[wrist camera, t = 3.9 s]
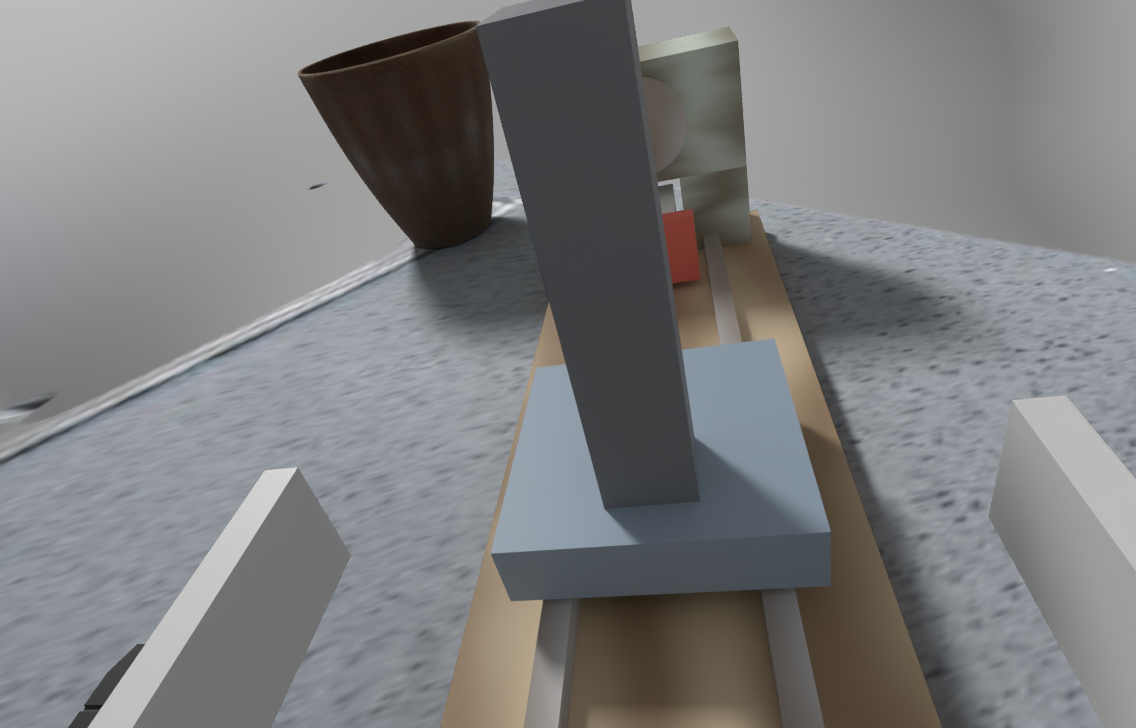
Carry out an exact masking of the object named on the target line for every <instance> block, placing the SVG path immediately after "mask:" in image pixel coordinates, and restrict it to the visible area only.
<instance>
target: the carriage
mask: <svg viewBox="0 0 1136 728" xmlns="http://www.w3.org/2000/svg"><path fill="white" fill-rule="evenodd" d="M476 30H477V33H478V37H479V41H480V45H481V48H482V52H483V56H484V60H485V63H486V67H487V71H488V75H489V78H490V82H491V86H492V90H493V93H494V97H495V101H496V104H497V108H498V112H499V115H500V120H501V123H502V127H503V131H504V135H505V138H506V142H507V146H508V149H509V153H510V157H511V161H512V165H513V168H514V172H515V176H516V180H517V183H518V187H519V191H520V195H521V198H522V202H523V206H524V210H525V213H526V217H527V221H528V225H529V228H530V232H531V236H532V240H533V243H534V247H535V251H536V255H537V258H538V262H539V266H540V270H541V273H542V277H543V281H544V285H545V288H546V292H547V296H548V300H549V303H550V307H551V311H552V315H553V318H554V322H555V326H556V330H557V333H558V337H559V341H560V345H561V348H562V352H563V356H564V360H565V363H566V364H563V365H555V366H547V367H538V368H536V371H535V375H534V379H533V383H532V387H531V391H530V395H529V399H528V403H527V407H526V411H525V415H524V419H523V423H522V427H521V432H520V436H519V440H518V444H517V448H516V452H515V456H514V460H513V464H512V468H511V472H510V476H509V480H508V484H507V489H506V493H505V497H504V501H503V505H502V509H501V513H500V517H499V521H498V525H497V529H496V533H495V537H494V541H493V545H492V550H491V556H492V558H493V561H494V563H495V565H496V568H497V570H498V572H499V575H500V577H501V579H502V582H503V584H504V586H505V589H506V591H507V593H508V596H509V598H510V601H528V600H549V599H570V598H591V597H612V596H633V595H654V594H675V593H696V592H718V591H739V590H760V589H781V588H802V587H823V586H831V530H830V527H829V523H828V520H827V516H826V513H825V510H824V506H823V503H822V499H821V496H820V492H819V489H818V486H817V482H816V479H815V475H814V472H813V468H812V465H811V462H810V458H809V455H808V451H807V448H806V444H805V441H804V438H803V434H802V431H801V427H800V424H799V420H798V417H797V414H796V410H795V407H794V403H793V400H792V396H791V393H790V390H789V386H788V383H787V379H786V376H785V372H784V369H783V366H782V362H781V359H780V355H779V352H778V348H777V345H776V342H775V338H773V339H765V340H757V341H749V342H741V343H733V344H725V345H717V346H708V347H700V348H692V349H684V350H682V347H681V341H680V334H679V327H678V320H677V313H676V306H675V299H674V292H673V286H672V279H671V272H670V265H669V258H668V251H667V244H666V237H665V231H664V224H663V217H662V210H661V203H660V196H659V189H658V183H657V176H656V169H655V162H654V155H653V148H652V141H651V134H650V128H649V121H648V114H647V107H646V100H645V93H644V86H643V79H642V73H641V66H640V59H639V52H638V45H637V38H636V31H635V25H634V18H633V11H632V4H631V0H533V1H529V2H525V3H521V4H516V5H512V6H508V7H504V8H502V9H500V10H499V11H497V12H496V13H495V14H493V15H491V16H490V17H489V18H487V19H486V20H484V21H483V22H481V23H480V24H478V25H477V26H476Z"/></svg>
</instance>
